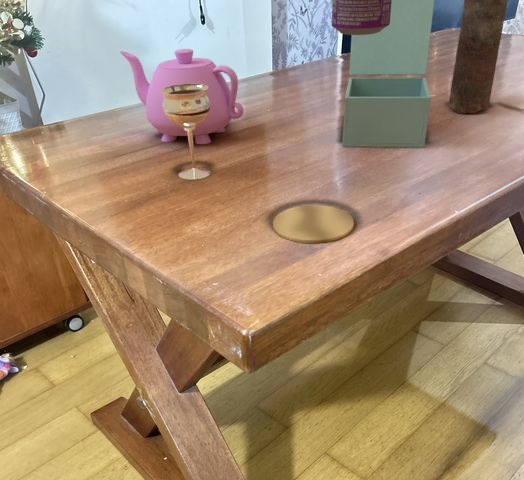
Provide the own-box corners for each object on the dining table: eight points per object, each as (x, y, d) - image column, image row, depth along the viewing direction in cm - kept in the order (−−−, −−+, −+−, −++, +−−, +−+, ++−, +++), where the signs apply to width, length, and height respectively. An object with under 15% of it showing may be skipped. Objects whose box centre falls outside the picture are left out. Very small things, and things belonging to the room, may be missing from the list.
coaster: (331, 202, 72) (331, 200, 72) (368, 233, 65) (368, 230, 64) (261, 216, 70) (261, 213, 69) (291, 249, 62) (291, 246, 62)
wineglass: (170, 168, 85) (158, 85, 77) (213, 163, 86) (205, 81, 78) (174, 184, 80) (162, 96, 72) (220, 178, 81) (212, 91, 73)
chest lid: (437, -28, 88) (434, -22, 92) (355, -25, 90) (355, -19, 94) (426, 74, 94) (423, 76, 97) (349, 74, 96) (349, 76, 100)
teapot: (114, 144, 96) (96, 57, 88) (154, 119, 107) (142, 41, 99) (228, 152, 90) (221, 60, 81) (259, 125, 101) (255, 42, 93)
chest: (424, 147, 88) (431, 97, 83) (342, 146, 90) (344, 97, 85) (419, 122, 99) (425, 77, 94) (346, 122, 101) (349, 77, 96)
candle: (441, 105, 107) (460, -16, 95) (477, 103, 108) (500, -19, 95) (456, 116, 101) (478, -13, 89) (494, 113, 102) (521, -15, 89)
